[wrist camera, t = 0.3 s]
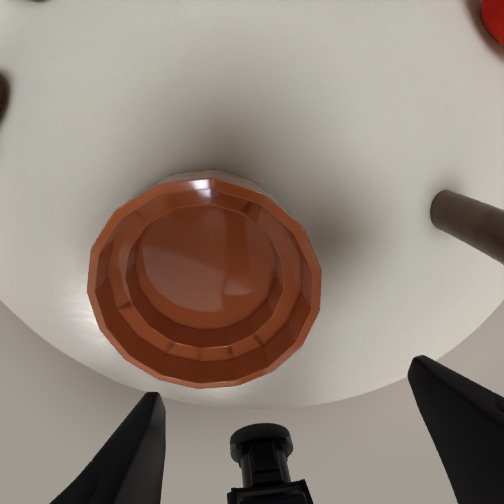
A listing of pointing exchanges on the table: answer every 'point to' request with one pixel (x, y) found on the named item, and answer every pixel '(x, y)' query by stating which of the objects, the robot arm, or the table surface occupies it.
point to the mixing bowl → (204, 281)
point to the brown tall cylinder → (470, 222)
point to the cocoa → (1, 96)
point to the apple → (494, 18)
